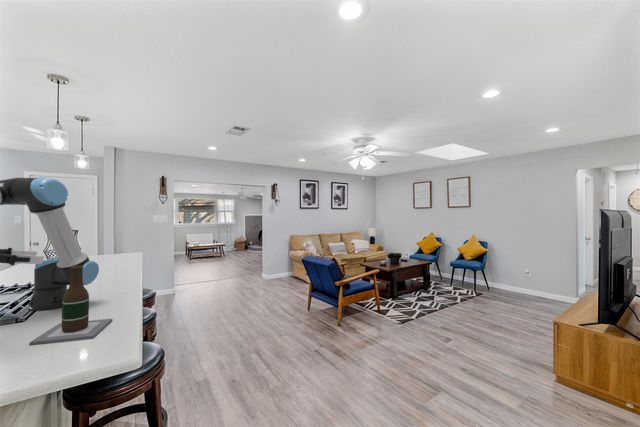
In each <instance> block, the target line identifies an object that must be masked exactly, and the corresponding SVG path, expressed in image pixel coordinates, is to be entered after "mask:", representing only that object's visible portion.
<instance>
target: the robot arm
mask: <svg viewBox="0 0 640 427" xmlns="http://www.w3.org/2000/svg"><path fill="white" fill-rule="evenodd" d="M68 196H69V192H68V189H67V187H66V186H65V184H64V183H63V182H61V181H60V180H58V179H55V178H51V177H13V178H8V179H7V178H6V179H1V180H0V206H5V205H9V206H10V205H14V206H15V205H16V206H18V205H19V206H21V205H22V206H27V207H28V210H29V212H30V213H31V214H34V215H36V216H37V218H38V220H39V221H40V224H41V227H42V228H43V230H44V231H45V232H44V233H45V234H46V236H47V238H48V241H49V242H50V244H51V246H52V249H53V251H54V253H55V255H56V258H51V259H49V258H48V259H45V260H44V258H45V256H44V255H38V251H33V250H31V251H30V250H17V249H13V247H8V248H0V264H9V265H10V266H15V264H25V265H26V264H27V265H29V264H31V265H34V269H33V271H34V272H33V276H34V277H33V278H34V279H33V280H34V282H33V286H34V287H33V294H32V295H31V298H30V300H29V302H28V304H27V305H28V306H29V307H31V308H33V309H30V308H28V306H27V308H28V309H27V310H28V311H32V312H33V311H35V312H37V311H39V312H40V311H48V310H54V309H58V308H62V300H63V296H64V294H65V292H66V291H67V290H68V286H69V285H70V279H71V267H73V266H83V269H82V274H83V285H84V286H88V285H90V284H92V283H93V282H94V281H95V280H96V278H98V274H99V272H100V266H99V264H98V263H97V262H96V261H93V260H90V258H89V256H88V254H86V253H83V252H82V250H81V247H80V246H79V242H78V240H77V239H76V236H75V232H74V231H73V229H72V226H71V225H70V222H69V220H68V218H67V215H66V213H65V210H64V208H65V206H66V205H67V204H66V202H67V200H68Z"/></svg>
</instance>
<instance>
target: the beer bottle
mask: <svg viewBox="0 0 640 427" xmlns="http://www.w3.org/2000/svg"><path fill="white" fill-rule="evenodd" d="M82 269H83V266H73V267H71V279H70V285H68V287H67V289H68V290H67V291H66V292H65V294H64V296H63V300H62V307H61V323H62V331H63V332H64V333H70V332H76V331H80V330H83V329H85V328H87V327H88V321H89V317H90V316H89V315H90V313H89V312H90V310H89V309H90V294H89V291H88V290H87V288H85V287H84V286H85V285H83V274H82Z"/></svg>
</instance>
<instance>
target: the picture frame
mask: <svg viewBox="0 0 640 427" xmlns="http://www.w3.org/2000/svg"><path fill="white" fill-rule="evenodd" d="M112 322H113V318H104V319H94V320H88V327H87V328H85V329H83V330H80V331H76V332H70V333H64V332H63V331H62V322H59V323H58V324H56V325H54V326H53V327H51V328H50V329H48V330H47V331H44V333H42V334H41V335H39V336H37V337H36V338H34V339H32V340H31V341H29V344H28V346H36V345H45V344H54V343H55V344H56V343H63V342H72V341H74V342H75V341H83V340H92V339H93V340H94V339H95V337H97V336H98V335H99V334H100V333H101V332H102V331H104V329H105V328H107V326H108V325H110V324H111V323H112Z"/></svg>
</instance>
